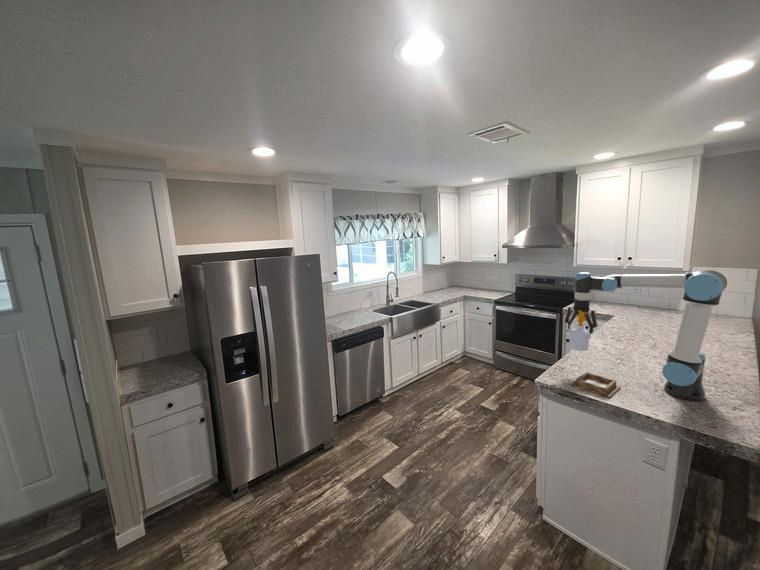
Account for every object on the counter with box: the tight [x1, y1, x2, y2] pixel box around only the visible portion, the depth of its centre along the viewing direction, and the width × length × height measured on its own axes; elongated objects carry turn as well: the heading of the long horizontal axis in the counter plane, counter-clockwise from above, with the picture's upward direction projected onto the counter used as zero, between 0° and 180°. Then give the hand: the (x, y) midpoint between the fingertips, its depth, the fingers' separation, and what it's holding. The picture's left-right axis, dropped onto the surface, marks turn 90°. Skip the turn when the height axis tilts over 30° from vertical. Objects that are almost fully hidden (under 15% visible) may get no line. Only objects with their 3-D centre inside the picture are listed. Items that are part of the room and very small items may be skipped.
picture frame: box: [570, 371, 621, 399], centre depth 171 cm, size 18×16×4 cm
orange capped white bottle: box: [570, 310, 590, 352], centre depth 184 cm, size 9×9×25 cm
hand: (579, 336), depth 185 cm, fingers closed on orange capped white bottle, 9 cm apart
